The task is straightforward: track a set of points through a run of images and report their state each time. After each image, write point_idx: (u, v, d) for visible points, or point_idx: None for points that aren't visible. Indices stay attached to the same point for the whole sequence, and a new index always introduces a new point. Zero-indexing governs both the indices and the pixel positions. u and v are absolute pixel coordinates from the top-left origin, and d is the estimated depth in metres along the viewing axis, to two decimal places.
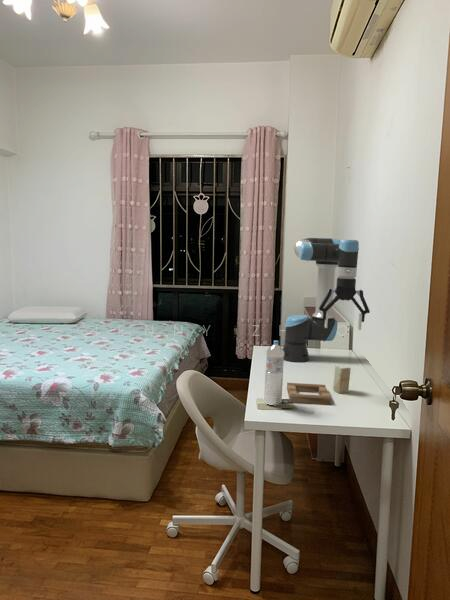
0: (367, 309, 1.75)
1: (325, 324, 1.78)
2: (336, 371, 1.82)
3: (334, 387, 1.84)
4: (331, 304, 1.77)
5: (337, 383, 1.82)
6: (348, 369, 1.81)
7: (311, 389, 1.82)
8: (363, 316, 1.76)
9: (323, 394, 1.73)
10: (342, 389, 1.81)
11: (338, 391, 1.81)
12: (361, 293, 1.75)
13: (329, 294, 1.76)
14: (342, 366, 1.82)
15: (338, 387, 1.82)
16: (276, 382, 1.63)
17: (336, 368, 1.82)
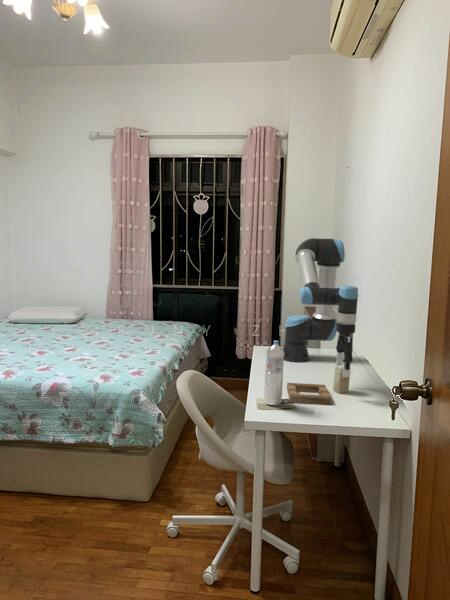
0: (345, 357, 1.72)
1: None
2: (336, 371, 1.83)
3: (334, 387, 1.84)
4: (338, 346, 1.86)
5: (337, 383, 1.82)
6: None
7: (311, 389, 1.82)
8: (345, 364, 1.74)
9: (323, 394, 1.73)
10: (342, 389, 1.81)
11: (338, 391, 1.81)
12: (345, 340, 1.74)
13: None
14: (342, 366, 1.82)
15: (338, 387, 1.82)
16: (276, 382, 1.63)
17: (336, 368, 1.83)
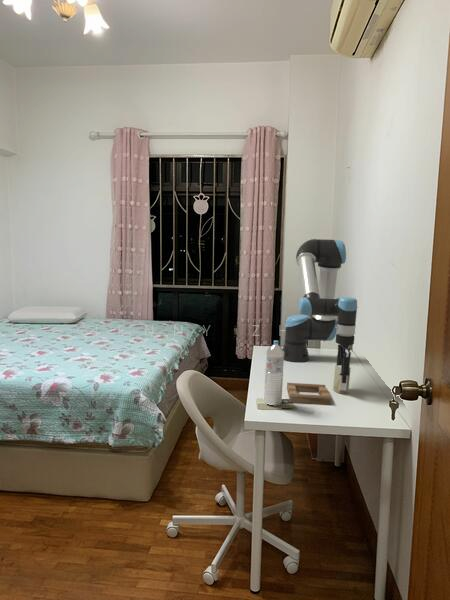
0: (342, 371, 1.77)
1: None
2: (336, 371, 1.82)
3: (334, 387, 1.84)
4: (338, 360, 1.85)
5: (337, 383, 1.82)
6: None
7: (311, 389, 1.82)
8: (342, 377, 1.79)
9: (323, 394, 1.73)
10: None
11: (338, 391, 1.81)
12: (344, 354, 1.76)
13: (338, 350, 1.87)
14: None
15: (338, 387, 1.82)
16: (276, 382, 1.63)
17: (336, 368, 1.82)
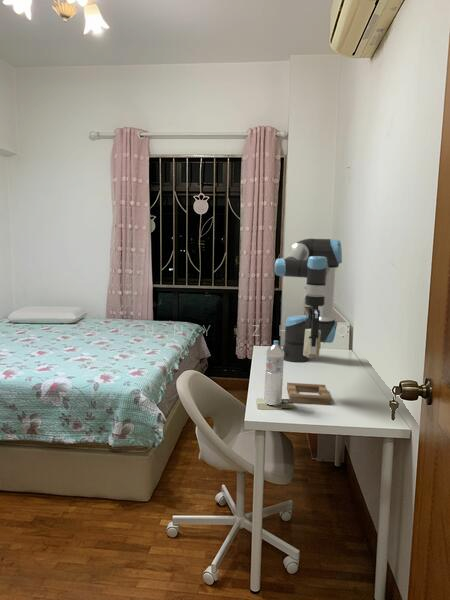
0: (311, 333, 1.67)
1: None
2: (306, 335, 1.73)
3: (304, 352, 1.74)
4: (309, 324, 1.76)
5: (307, 347, 1.72)
6: (318, 332, 1.72)
7: (311, 389, 1.82)
8: (312, 340, 1.69)
9: (323, 394, 1.73)
10: None
11: (308, 355, 1.72)
12: (313, 315, 1.66)
13: None
14: None
15: (307, 351, 1.72)
16: (276, 382, 1.63)
17: (306, 331, 1.73)
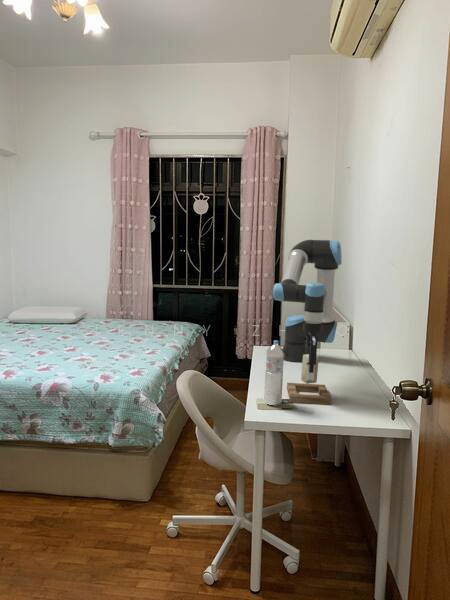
0: (309, 360, 1.69)
1: None
2: (304, 360, 1.75)
3: (302, 377, 1.76)
4: (307, 349, 1.77)
5: (305, 373, 1.74)
6: (316, 358, 1.73)
7: (311, 389, 1.82)
8: (309, 366, 1.71)
9: (323, 394, 1.73)
10: None
11: (306, 381, 1.73)
12: (310, 342, 1.68)
13: None
14: None
15: (305, 377, 1.74)
16: (276, 382, 1.63)
17: (304, 357, 1.74)
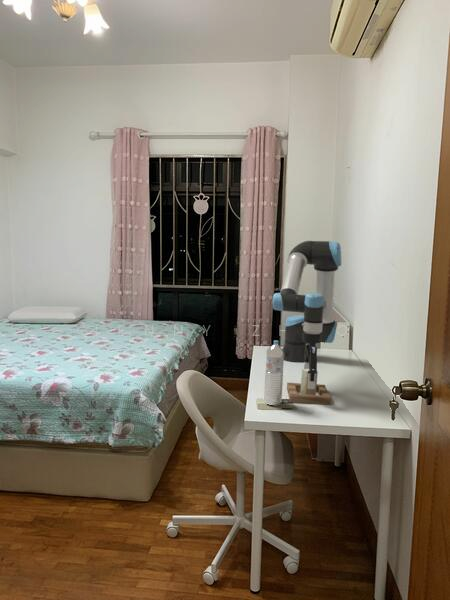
0: (310, 368, 1.66)
1: None
2: (303, 375, 1.76)
3: (301, 391, 1.77)
4: (305, 355, 1.80)
5: (304, 387, 1.75)
6: None
7: None
8: (310, 375, 1.68)
9: (323, 394, 1.73)
10: (308, 394, 1.75)
11: None
12: (310, 350, 1.68)
13: (306, 345, 1.80)
14: None
15: (304, 392, 1.75)
16: (276, 382, 1.63)
17: (303, 372, 1.76)
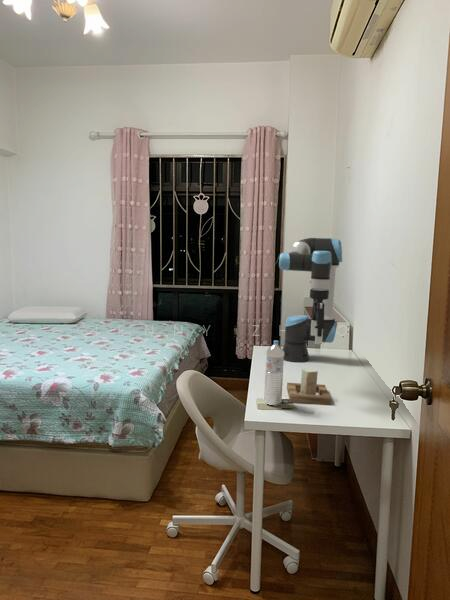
0: (317, 323, 1.68)
1: None
2: (303, 375, 1.76)
3: (301, 391, 1.77)
4: (313, 313, 1.82)
5: (304, 387, 1.75)
6: (315, 373, 1.74)
7: None
8: (318, 330, 1.70)
9: (323, 394, 1.73)
10: (308, 394, 1.75)
11: None
12: (317, 306, 1.70)
13: None
14: (309, 370, 1.75)
15: (304, 392, 1.75)
16: (276, 382, 1.63)
17: (303, 372, 1.76)
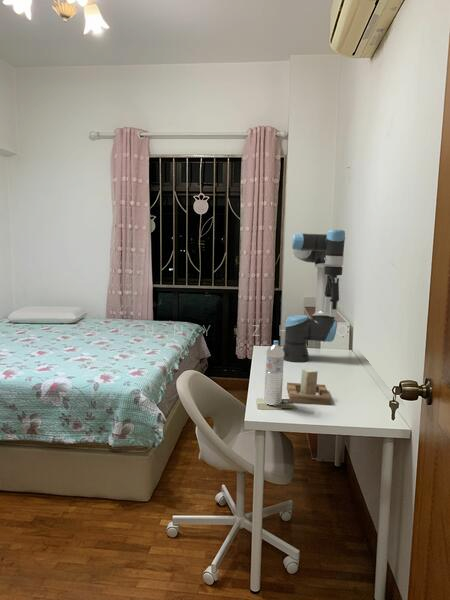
0: (332, 296, 1.79)
1: None
2: (303, 375, 1.76)
3: (301, 391, 1.77)
4: (326, 289, 1.93)
5: (304, 387, 1.75)
6: (315, 373, 1.74)
7: None
8: (332, 303, 1.81)
9: (323, 394, 1.73)
10: (308, 394, 1.75)
11: None
12: (332, 280, 1.81)
13: None
14: (309, 370, 1.75)
15: (304, 392, 1.75)
16: (276, 382, 1.63)
17: (303, 372, 1.76)
